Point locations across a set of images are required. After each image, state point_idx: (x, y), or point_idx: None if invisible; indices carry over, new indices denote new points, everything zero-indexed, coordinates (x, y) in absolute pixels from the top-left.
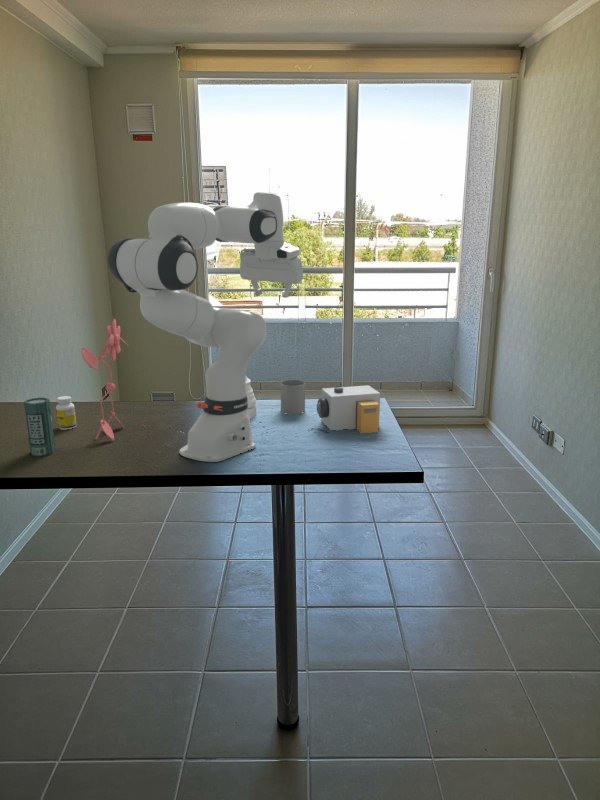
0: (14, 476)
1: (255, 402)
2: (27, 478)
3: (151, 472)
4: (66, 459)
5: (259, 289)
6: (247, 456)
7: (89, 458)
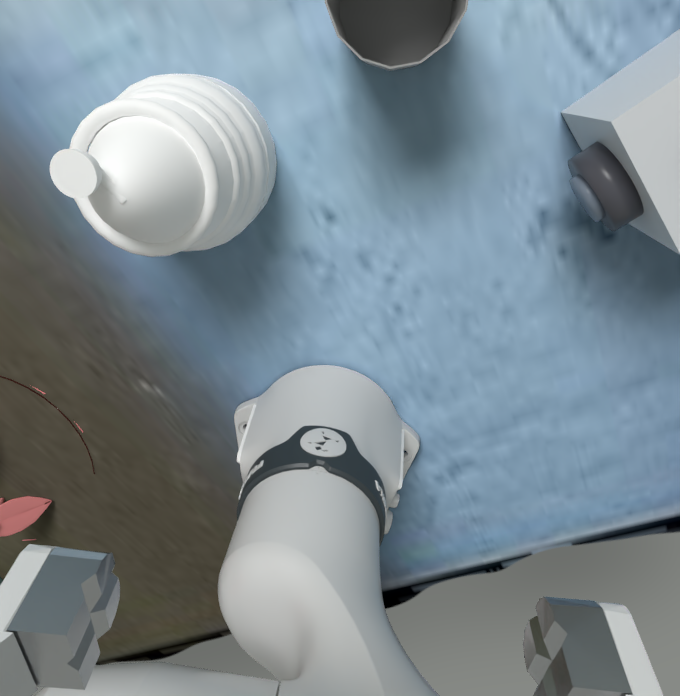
0: None
1: (262, 151)
2: None
3: None
4: None
5: (81, 676)
6: (422, 488)
7: None
